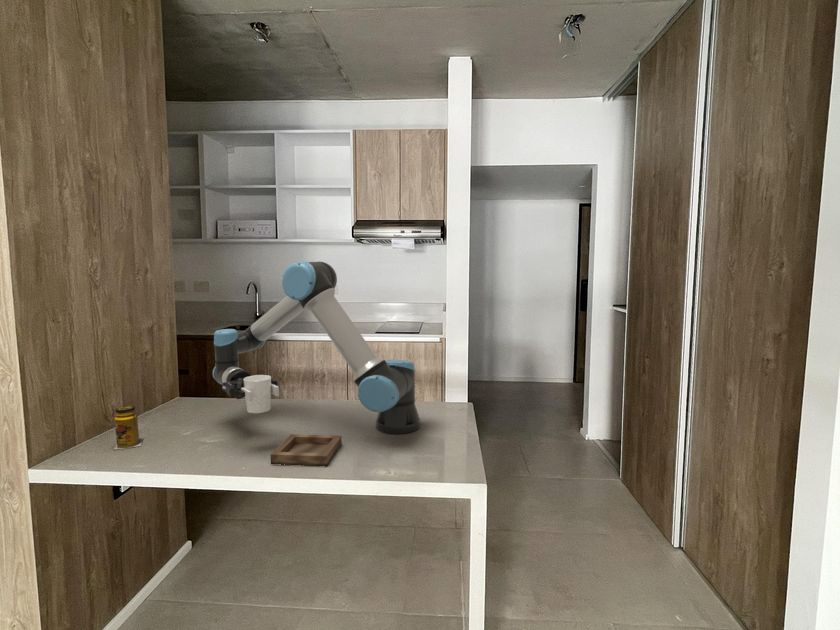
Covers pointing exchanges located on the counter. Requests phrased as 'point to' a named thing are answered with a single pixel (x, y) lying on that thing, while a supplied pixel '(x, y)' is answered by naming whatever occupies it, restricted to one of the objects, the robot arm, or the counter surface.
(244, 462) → the counter surface
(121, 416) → the condiment
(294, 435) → the wooden tray
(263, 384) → the white cup
